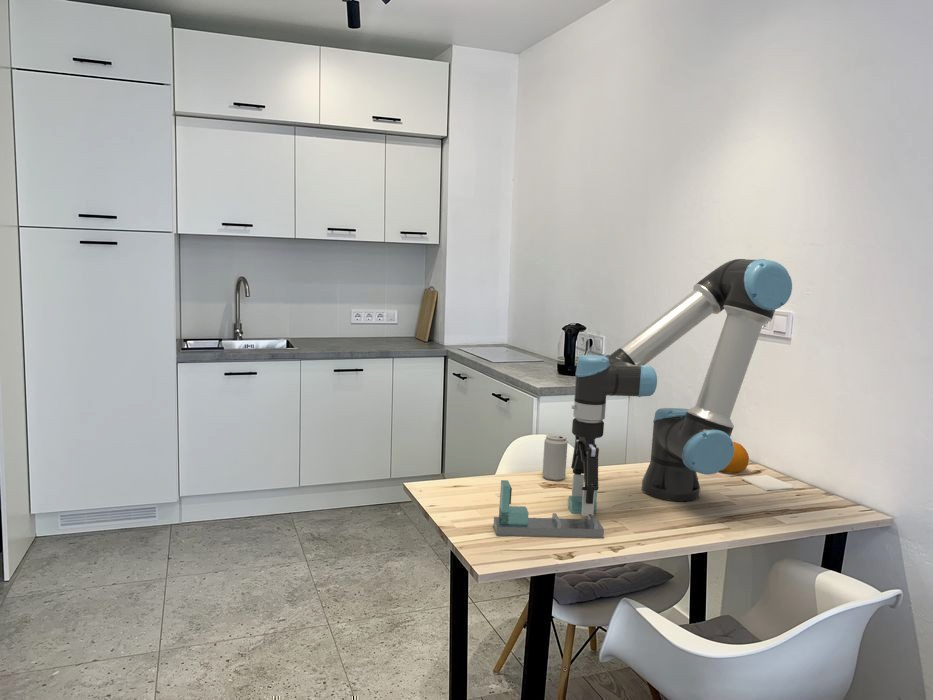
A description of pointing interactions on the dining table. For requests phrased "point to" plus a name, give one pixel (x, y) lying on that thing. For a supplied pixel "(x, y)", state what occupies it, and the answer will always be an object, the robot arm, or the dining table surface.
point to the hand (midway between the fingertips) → (581, 507)
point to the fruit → (737, 460)
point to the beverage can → (555, 457)
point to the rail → (540, 521)
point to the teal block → (579, 504)
